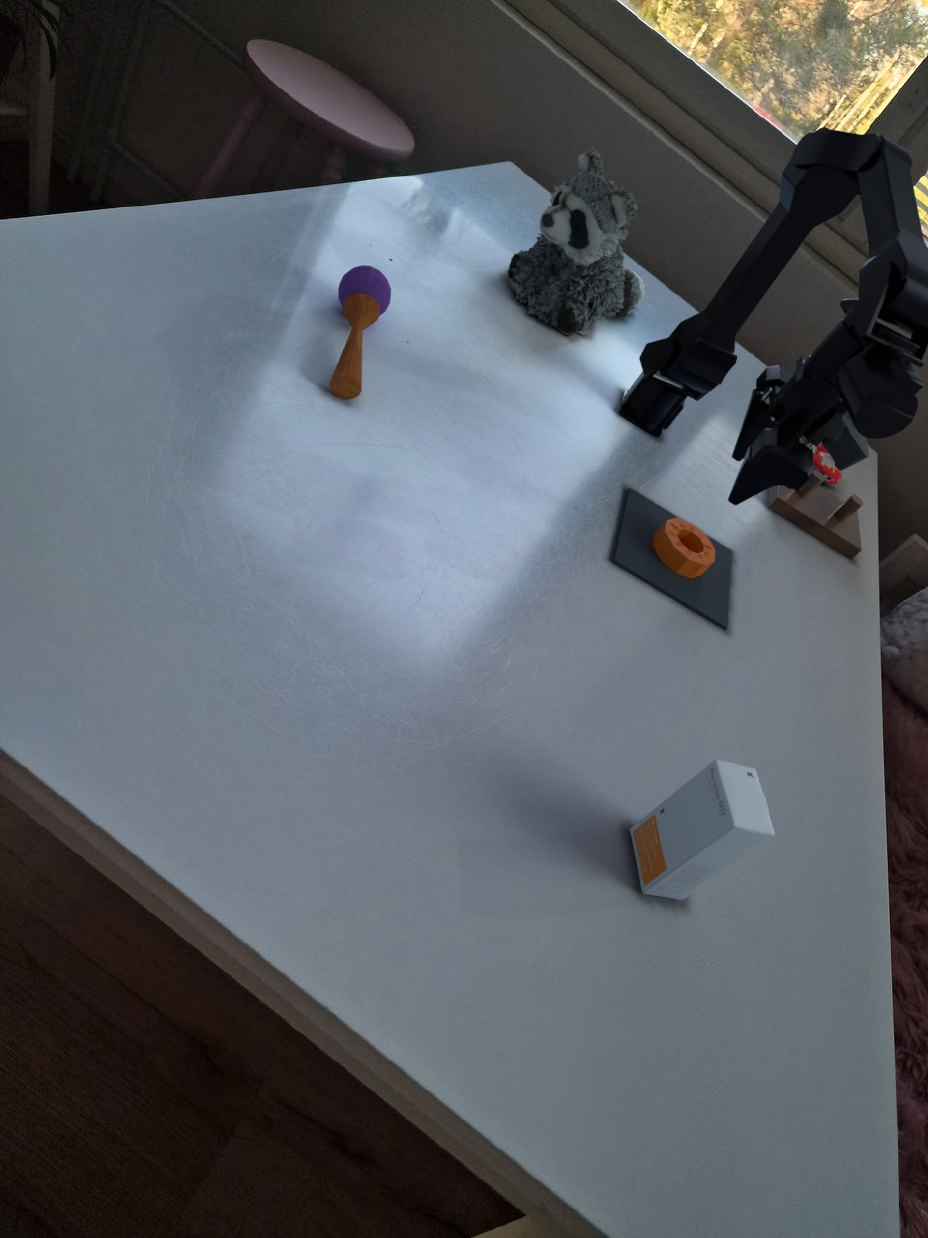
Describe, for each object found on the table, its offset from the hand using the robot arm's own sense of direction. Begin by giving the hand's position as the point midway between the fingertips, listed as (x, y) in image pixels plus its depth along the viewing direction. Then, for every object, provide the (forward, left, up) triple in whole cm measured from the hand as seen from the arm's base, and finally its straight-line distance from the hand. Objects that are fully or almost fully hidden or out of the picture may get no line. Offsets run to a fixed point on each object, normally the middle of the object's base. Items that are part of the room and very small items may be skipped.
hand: (733, 480), depth 110 cm
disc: (0, -3, -10) cm, 11 cm away
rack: (+20, +25, -11) cm, 34 cm away
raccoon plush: (-24, +42, -11) cm, 50 cm away
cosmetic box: (+2, -46, -11) cm, 47 cm away
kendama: (-44, -1, -11) cm, 45 cm away
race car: (+22, +41, -11) cm, 48 cm away
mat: (0, -3, -11) cm, 11 cm away
